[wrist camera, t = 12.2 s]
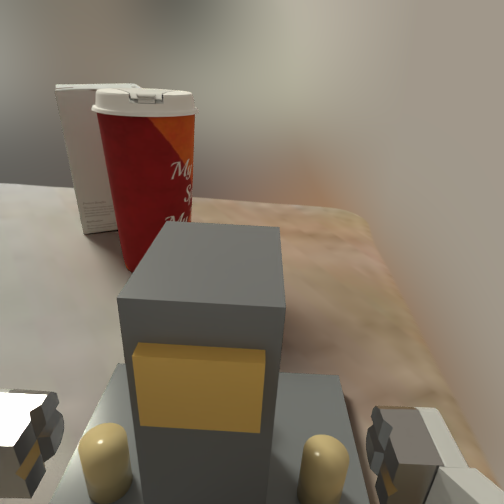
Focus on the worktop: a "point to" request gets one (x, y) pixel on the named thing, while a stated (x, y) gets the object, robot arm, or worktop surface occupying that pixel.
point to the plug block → (204, 361)
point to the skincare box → (87, 154)
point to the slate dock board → (282, 452)
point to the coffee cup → (147, 161)
